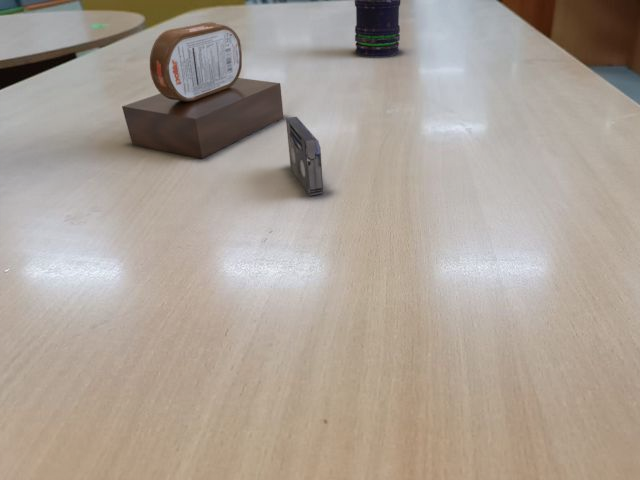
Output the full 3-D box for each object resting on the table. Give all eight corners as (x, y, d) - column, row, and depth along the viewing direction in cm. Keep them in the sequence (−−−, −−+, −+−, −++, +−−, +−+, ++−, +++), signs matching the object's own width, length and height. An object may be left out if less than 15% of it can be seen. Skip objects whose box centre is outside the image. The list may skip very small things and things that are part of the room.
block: (131, 144, 67) (121, 106, 65) (220, 107, 81) (214, 74, 78) (202, 158, 63) (194, 118, 60) (283, 117, 76) (280, 83, 73)
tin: (232, 80, 75) (223, 16, 70) (249, 82, 74) (241, 18, 69) (156, 107, 64) (139, 34, 59) (175, 110, 63) (159, 36, 58)
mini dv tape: (323, 194, 54) (320, 139, 51) (309, 196, 54) (305, 141, 50) (303, 166, 61) (299, 115, 57) (290, 168, 60) (285, 117, 57)
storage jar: (387, 46, 120) (388, -27, 111) (407, 54, 112) (410, -24, 104) (348, 50, 116) (346, -25, 108) (365, 59, 109) (365, -22, 101)
